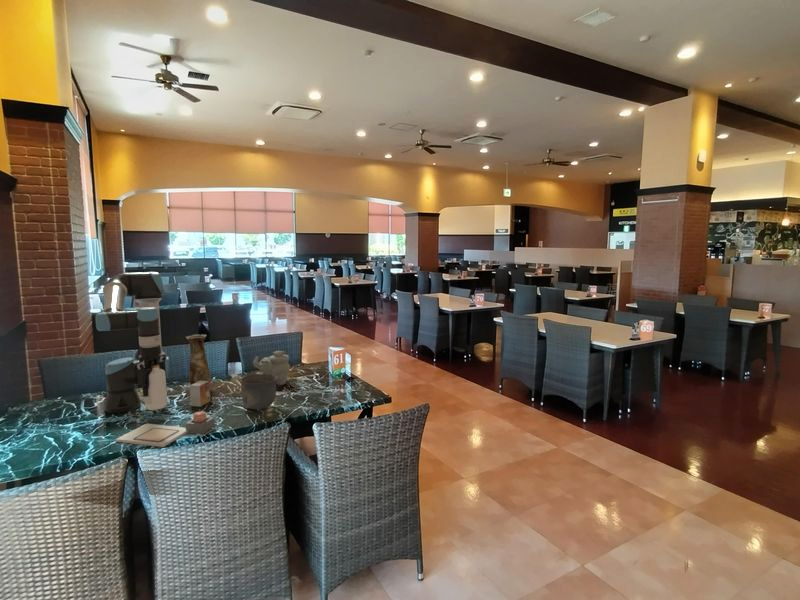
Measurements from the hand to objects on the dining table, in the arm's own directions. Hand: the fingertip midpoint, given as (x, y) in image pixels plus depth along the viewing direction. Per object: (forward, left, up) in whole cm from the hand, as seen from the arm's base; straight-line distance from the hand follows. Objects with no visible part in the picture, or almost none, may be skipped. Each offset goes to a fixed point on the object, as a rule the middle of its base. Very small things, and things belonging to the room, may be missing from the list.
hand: (153, 400), depth 185 cm
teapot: (+13, +73, -14) cm, 76 cm away
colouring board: (+1, -2, -14) cm, 14 cm away
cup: (+27, +36, -14) cm, 47 cm away
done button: (+15, +8, -11) cm, 20 cm away
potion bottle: (0, +1, -3) cm, 3 cm away
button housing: (+15, +8, -14) cm, 22 cm away
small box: (-5, +35, -14) cm, 38 cm away
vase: (-18, +52, -14) cm, 57 cm away
